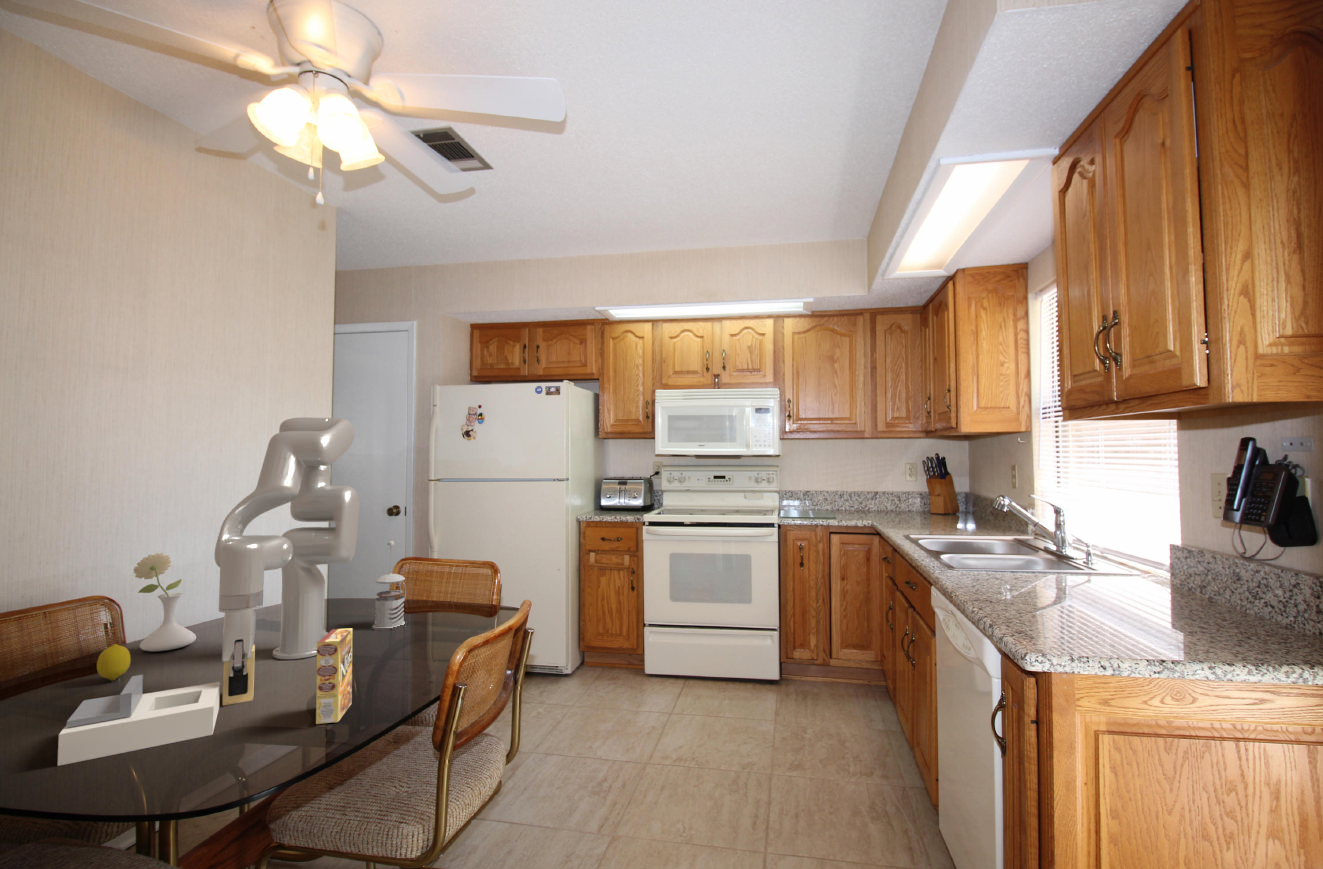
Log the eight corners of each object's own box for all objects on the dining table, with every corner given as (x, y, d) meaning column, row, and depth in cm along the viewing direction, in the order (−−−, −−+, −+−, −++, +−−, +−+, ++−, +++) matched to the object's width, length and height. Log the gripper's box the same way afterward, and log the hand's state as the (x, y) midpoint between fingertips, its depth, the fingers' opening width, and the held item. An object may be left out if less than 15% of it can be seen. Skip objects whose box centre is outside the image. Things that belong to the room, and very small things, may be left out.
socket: (219, 706, 118) (220, 681, 118) (212, 734, 106) (213, 706, 106) (81, 732, 107) (82, 704, 107) (57, 765, 95) (58, 734, 96)
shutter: (142, 696, 110) (142, 674, 110) (130, 716, 102) (131, 692, 102) (83, 706, 106) (84, 683, 106) (66, 727, 98) (67, 703, 98)
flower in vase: (193, 638, 162) (196, 547, 163) (199, 648, 154) (202, 551, 155) (129, 649, 153) (132, 552, 154) (131, 660, 145) (135, 557, 146)
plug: (253, 692, 126) (255, 634, 126) (252, 700, 121) (254, 641, 122) (224, 697, 123) (226, 638, 123) (222, 705, 119) (224, 645, 119)
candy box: (339, 723, 111) (340, 640, 112) (314, 725, 110) (316, 642, 111) (352, 703, 120) (354, 627, 120) (329, 705, 119) (331, 628, 119)
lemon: (109, 686, 129) (110, 649, 129) (89, 684, 130) (90, 647, 130) (136, 677, 134) (137, 641, 134) (116, 675, 135) (118, 639, 135)
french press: (363, 630, 171) (365, 542, 172) (388, 619, 182) (389, 537, 183) (394, 631, 169) (396, 543, 170) (417, 620, 180) (419, 538, 181)
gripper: (222, 595, 128) (219, 680, 127) (215, 612, 114) (212, 708, 113) (263, 591, 132) (261, 673, 131) (262, 607, 118) (259, 700, 117)
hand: (238, 689), depth 122 cm, fingers closed on plug, 5 cm apart
